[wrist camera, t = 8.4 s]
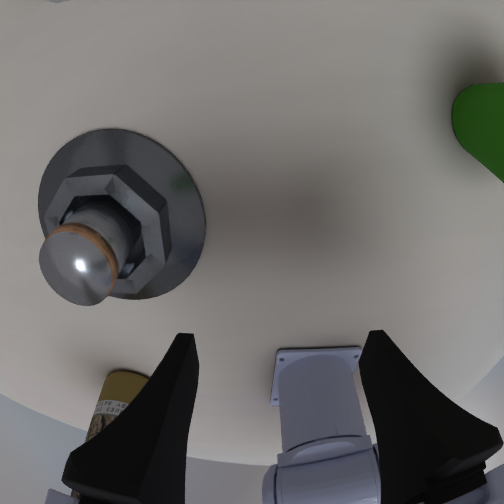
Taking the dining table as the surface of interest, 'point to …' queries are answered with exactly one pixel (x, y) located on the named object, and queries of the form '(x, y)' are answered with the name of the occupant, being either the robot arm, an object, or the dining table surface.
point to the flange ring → (131, 204)
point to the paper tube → (113, 402)
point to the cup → (482, 124)
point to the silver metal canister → (89, 250)
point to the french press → (56, 1)
